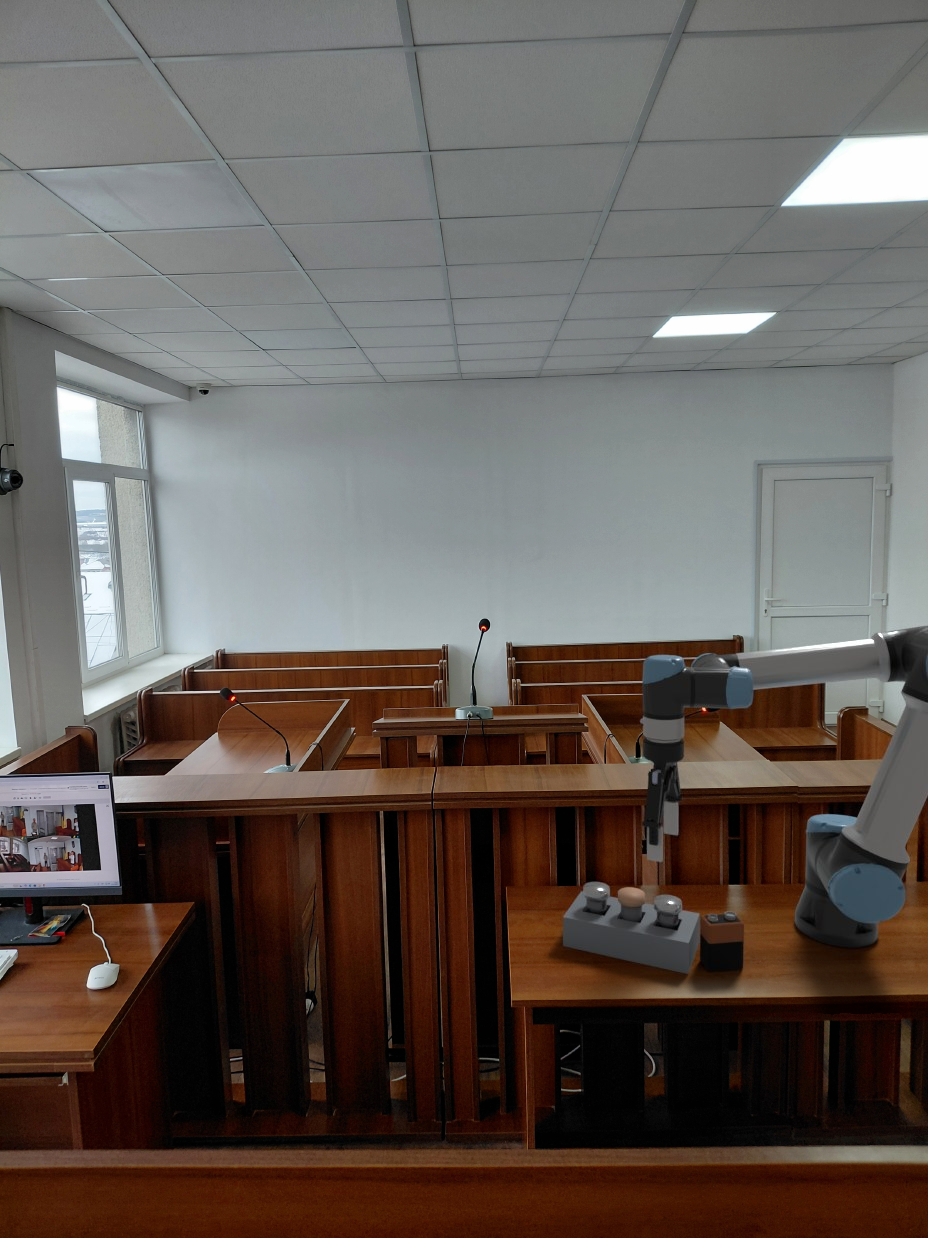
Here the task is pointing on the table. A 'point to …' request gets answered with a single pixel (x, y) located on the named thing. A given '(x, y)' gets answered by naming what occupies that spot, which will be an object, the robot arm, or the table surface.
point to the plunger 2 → (667, 911)
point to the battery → (721, 942)
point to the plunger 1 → (596, 897)
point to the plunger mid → (631, 903)
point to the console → (632, 935)
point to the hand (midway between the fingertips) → (663, 846)
